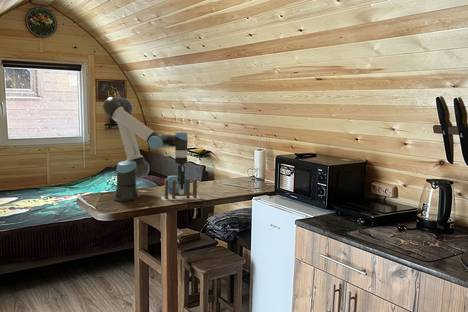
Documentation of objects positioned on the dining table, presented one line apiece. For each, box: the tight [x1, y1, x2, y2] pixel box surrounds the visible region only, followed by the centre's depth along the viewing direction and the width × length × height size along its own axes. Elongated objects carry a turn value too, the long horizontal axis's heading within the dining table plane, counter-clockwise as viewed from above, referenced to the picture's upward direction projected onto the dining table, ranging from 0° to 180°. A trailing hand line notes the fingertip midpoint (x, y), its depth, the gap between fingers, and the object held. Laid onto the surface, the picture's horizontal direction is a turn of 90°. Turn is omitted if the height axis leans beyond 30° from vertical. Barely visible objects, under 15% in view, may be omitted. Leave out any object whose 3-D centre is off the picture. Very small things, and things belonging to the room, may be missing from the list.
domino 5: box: [192, 177, 198, 198], centre depth 270 cm, size 2×5×12 cm, turn 16°
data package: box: [166, 174, 187, 194], centre depth 284 cm, size 12×4×12 cm, turn 119°
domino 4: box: [185, 177, 191, 198], centre depth 268 cm, size 2×5×12 cm, turn 16°
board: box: [160, 195, 201, 201], centre depth 268 cm, size 24×10×1 cm, turn 106°
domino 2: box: [171, 178, 176, 199], centre depth 266 cm, size 2×5×12 cm, turn 16°
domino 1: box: [164, 178, 169, 199], centre depth 265 cm, size 2×5×12 cm, turn 16°
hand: (180, 193), depth 267 cm, fingers closed on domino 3, 5 cm apart
